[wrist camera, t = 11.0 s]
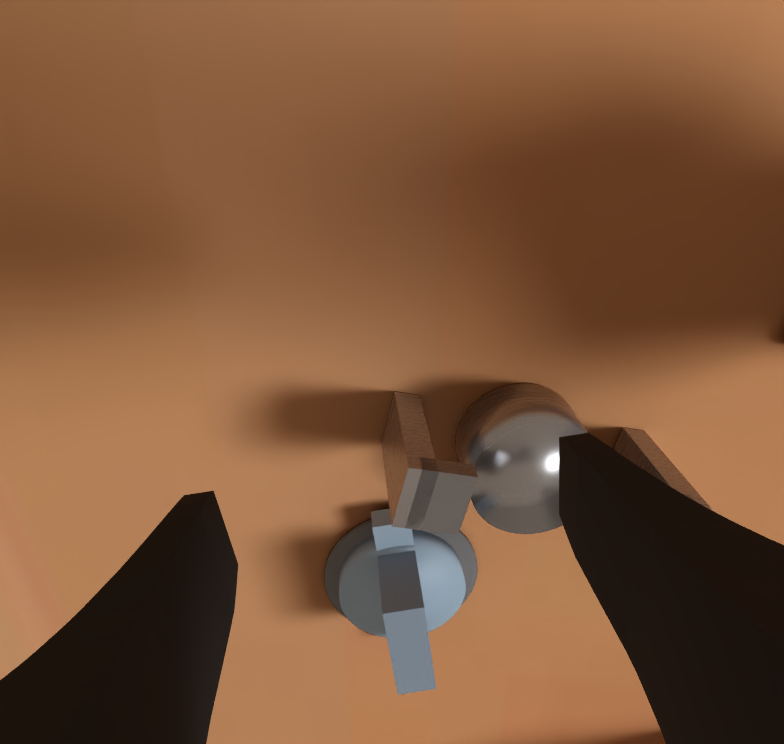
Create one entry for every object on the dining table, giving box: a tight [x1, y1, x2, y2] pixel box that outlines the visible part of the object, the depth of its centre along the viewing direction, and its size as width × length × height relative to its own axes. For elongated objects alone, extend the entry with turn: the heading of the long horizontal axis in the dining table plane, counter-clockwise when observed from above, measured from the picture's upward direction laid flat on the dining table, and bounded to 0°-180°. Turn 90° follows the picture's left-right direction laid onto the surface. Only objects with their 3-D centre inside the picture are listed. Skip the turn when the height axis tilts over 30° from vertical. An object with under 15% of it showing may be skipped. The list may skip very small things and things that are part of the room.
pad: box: [324, 519, 477, 618], centre depth 27 cm, size 7×7×1 cm
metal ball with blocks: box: [382, 383, 711, 534], centre depth 22 cm, size 11×5×5 cm, turn 77°
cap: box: [339, 509, 466, 695], centre depth 25 cm, size 8×6×4 cm
